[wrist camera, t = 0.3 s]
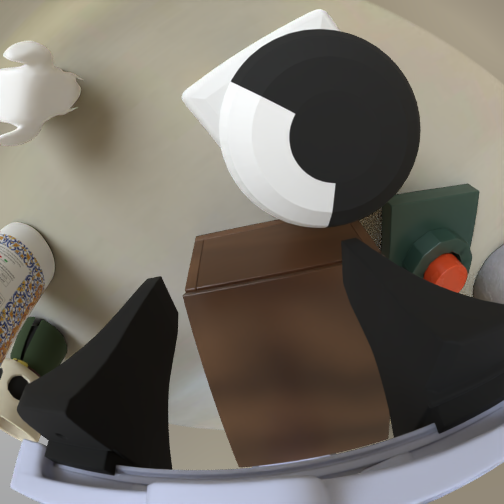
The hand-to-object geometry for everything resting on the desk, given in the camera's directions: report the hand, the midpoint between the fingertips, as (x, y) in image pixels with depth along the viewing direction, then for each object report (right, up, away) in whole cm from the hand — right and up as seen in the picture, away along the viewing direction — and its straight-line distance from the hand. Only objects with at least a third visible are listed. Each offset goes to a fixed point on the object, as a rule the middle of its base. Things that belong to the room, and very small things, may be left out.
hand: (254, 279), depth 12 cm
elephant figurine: (-14, +13, +3) cm, 19 cm away
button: (+15, -1, +10) cm, 18 cm away
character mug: (-24, -8, +16) cm, 30 cm away
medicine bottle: (+2, +11, +6) cm, 12 cm away
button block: (+15, +1, +12) cm, 19 cm away
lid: (+3, -7, +6) cm, 10 cm away
